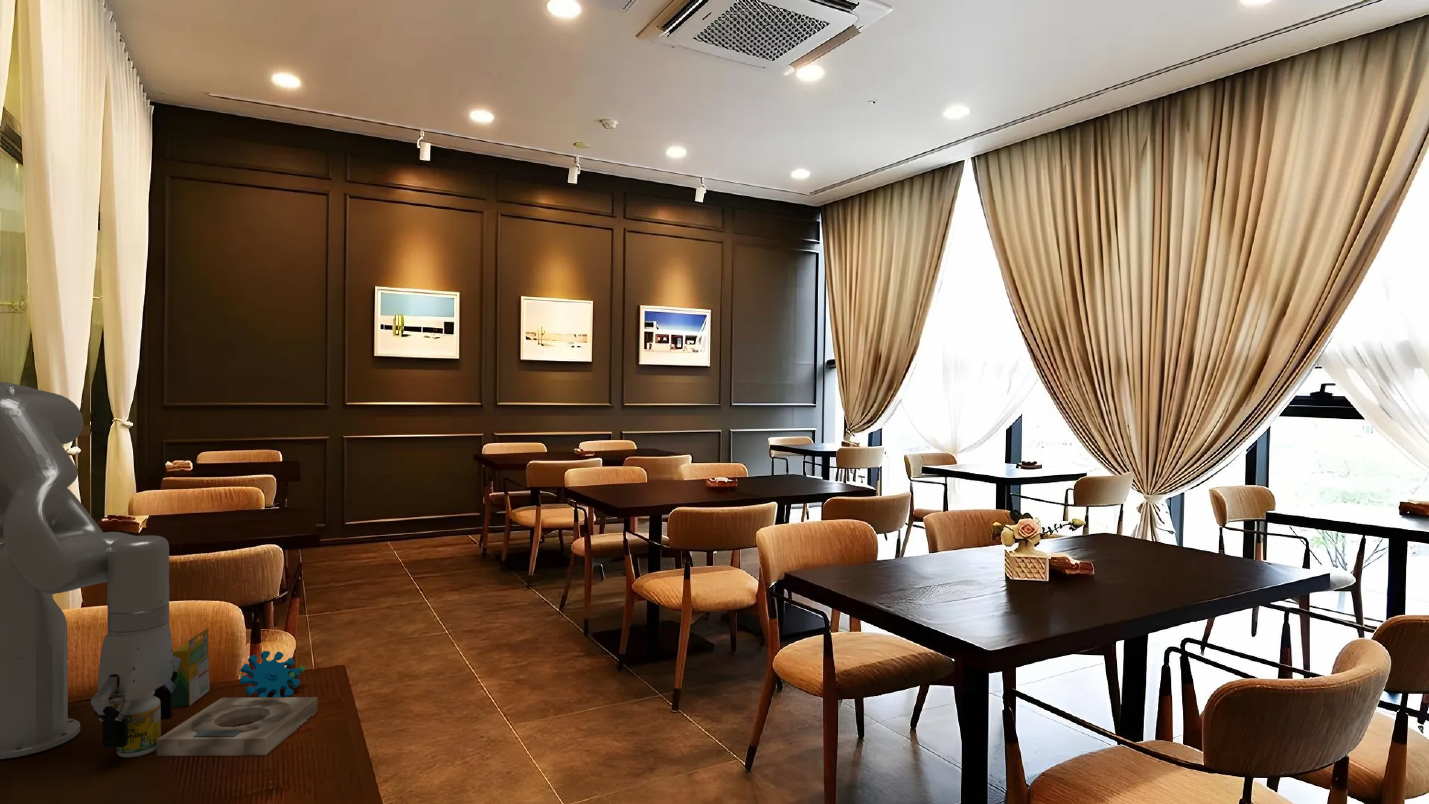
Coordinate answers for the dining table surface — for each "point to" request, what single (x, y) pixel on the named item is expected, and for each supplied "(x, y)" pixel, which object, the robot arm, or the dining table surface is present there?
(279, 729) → the socket board
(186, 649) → the crayon box
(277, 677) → the blue virus toy
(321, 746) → the dining table surface
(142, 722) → the supplement bottle
